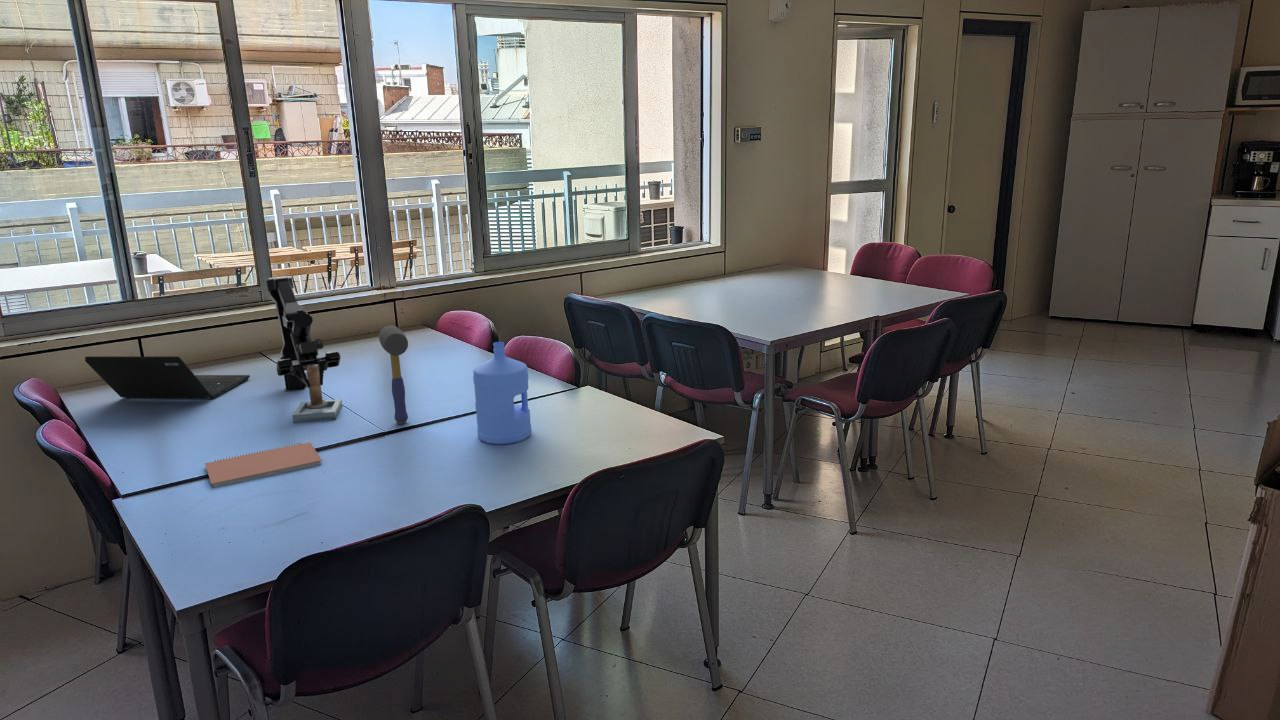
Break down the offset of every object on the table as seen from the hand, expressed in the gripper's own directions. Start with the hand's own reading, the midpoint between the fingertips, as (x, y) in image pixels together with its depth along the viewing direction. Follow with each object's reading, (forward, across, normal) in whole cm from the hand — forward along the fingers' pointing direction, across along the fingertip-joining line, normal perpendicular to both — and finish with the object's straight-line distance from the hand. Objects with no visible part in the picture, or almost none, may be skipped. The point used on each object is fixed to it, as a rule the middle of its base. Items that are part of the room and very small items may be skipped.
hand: (315, 385), depth 263 cm
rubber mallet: (+23, +19, -9) cm, 31 cm away
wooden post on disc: (+4, 0, +6) cm, 7 cm away
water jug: (+43, +41, -29) cm, 66 cm away
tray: (+6, 0, +8) cm, 10 cm away
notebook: (+31, -22, -16) cm, 41 cm away
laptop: (-29, -36, +44) cm, 64 cm away
